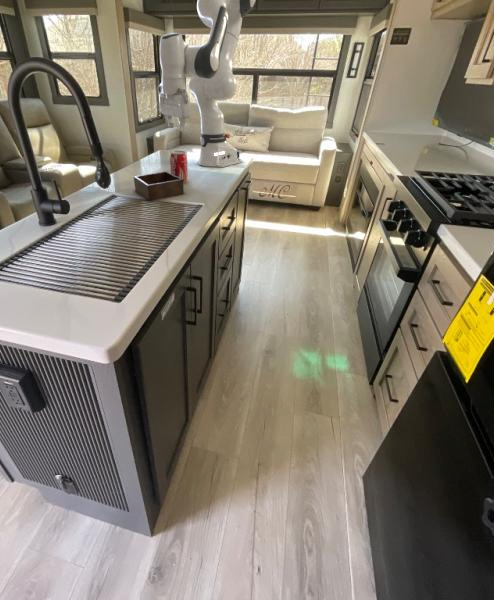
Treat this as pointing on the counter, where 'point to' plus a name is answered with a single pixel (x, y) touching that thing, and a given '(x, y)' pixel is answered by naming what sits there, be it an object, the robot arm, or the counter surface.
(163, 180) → the box
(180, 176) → the soda can
